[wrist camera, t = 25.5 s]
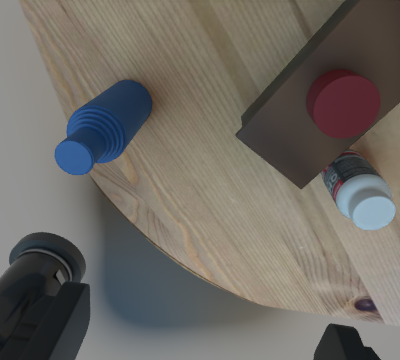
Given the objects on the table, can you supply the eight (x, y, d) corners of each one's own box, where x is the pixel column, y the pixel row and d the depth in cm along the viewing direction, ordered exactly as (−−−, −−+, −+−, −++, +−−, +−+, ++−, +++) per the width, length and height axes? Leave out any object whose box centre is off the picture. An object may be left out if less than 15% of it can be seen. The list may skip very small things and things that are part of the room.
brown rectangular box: (290, 163, 40) (301, 189, 35) (234, 116, 38) (235, 136, 32) (413, 48, 33) (452, 56, 28) (352, -18, 31) (381, -23, 25)
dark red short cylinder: (309, 68, 29) (318, 75, 26) (372, 67, 29) (387, 74, 26) (302, 126, 31) (309, 138, 29) (359, 127, 31) (372, 138, 28)
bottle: (136, 132, 40) (86, 201, 26) (99, 105, 39) (26, 162, 25) (160, 99, 38) (121, 154, 24) (123, 70, 37) (57, 109, 23)
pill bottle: (315, 158, 40) (339, 200, 31) (361, 142, 38) (399, 181, 30) (326, 194, 42) (352, 242, 33) (370, 180, 41) (408, 227, 32)
